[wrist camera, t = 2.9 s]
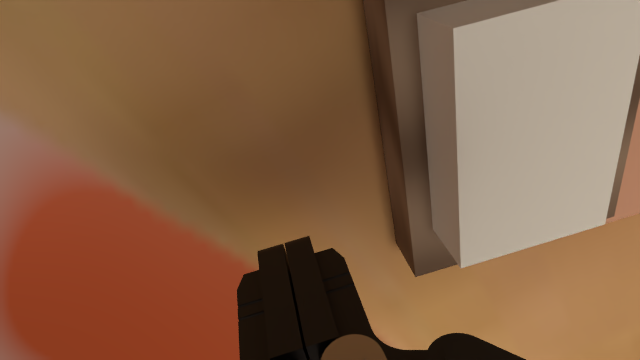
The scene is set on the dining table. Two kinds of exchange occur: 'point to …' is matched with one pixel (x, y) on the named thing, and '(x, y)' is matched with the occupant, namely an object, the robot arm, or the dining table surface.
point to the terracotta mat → (630, 178)
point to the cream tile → (524, 118)
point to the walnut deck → (423, 128)
